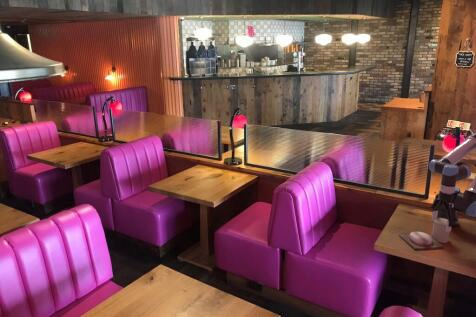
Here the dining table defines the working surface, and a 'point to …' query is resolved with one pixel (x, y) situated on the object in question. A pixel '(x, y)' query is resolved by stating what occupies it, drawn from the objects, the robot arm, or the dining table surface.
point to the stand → (420, 241)
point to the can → (440, 230)
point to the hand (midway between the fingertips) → (440, 226)
